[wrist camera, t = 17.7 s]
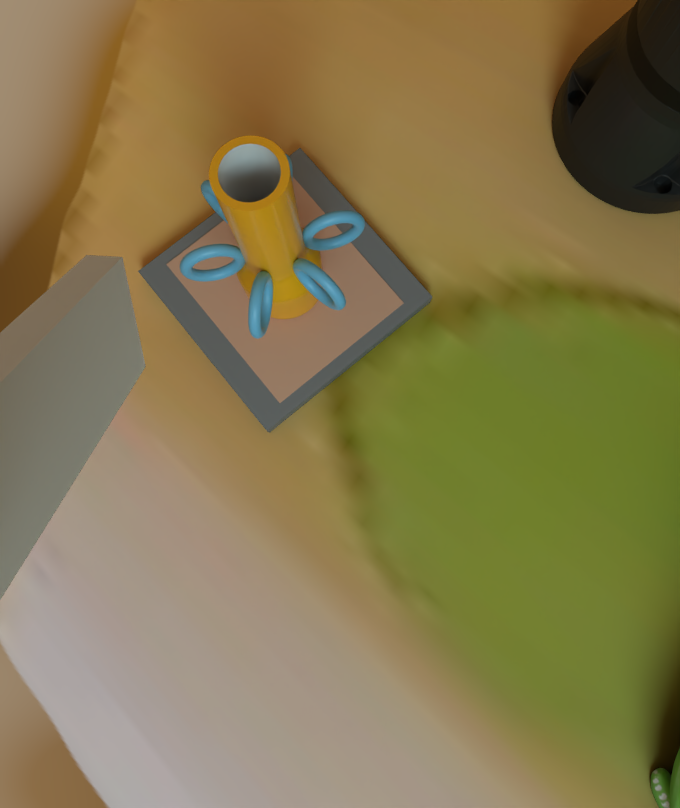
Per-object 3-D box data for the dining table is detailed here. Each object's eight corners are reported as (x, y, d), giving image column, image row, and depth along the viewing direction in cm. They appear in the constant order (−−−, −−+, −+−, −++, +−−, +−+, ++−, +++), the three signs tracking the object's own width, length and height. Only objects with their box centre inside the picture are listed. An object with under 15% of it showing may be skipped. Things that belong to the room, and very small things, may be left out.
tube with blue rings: (179, 282, 42) (87, 173, 27) (270, 186, 43) (229, 30, 28) (298, 386, 41) (269, 329, 26) (389, 283, 42) (412, 173, 27)
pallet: (301, 156, 45) (299, 147, 44) (430, 302, 43) (432, 296, 42) (144, 277, 44) (137, 270, 42) (269, 432, 42) (266, 431, 40)
